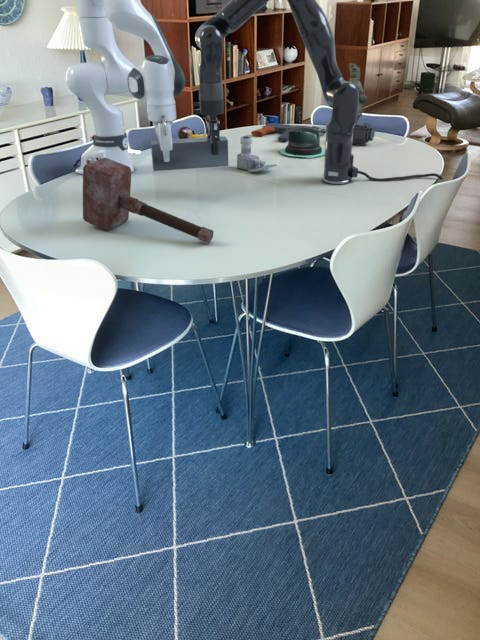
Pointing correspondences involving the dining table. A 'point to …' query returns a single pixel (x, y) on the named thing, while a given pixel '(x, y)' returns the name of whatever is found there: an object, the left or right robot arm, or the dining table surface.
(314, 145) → the green hat
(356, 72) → the statue
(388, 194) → the dining table surface
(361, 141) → the toy
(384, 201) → the dining table surface
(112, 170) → the sledgehammer
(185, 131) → the figurine
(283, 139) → the submachine gun
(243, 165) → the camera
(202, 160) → the bar
